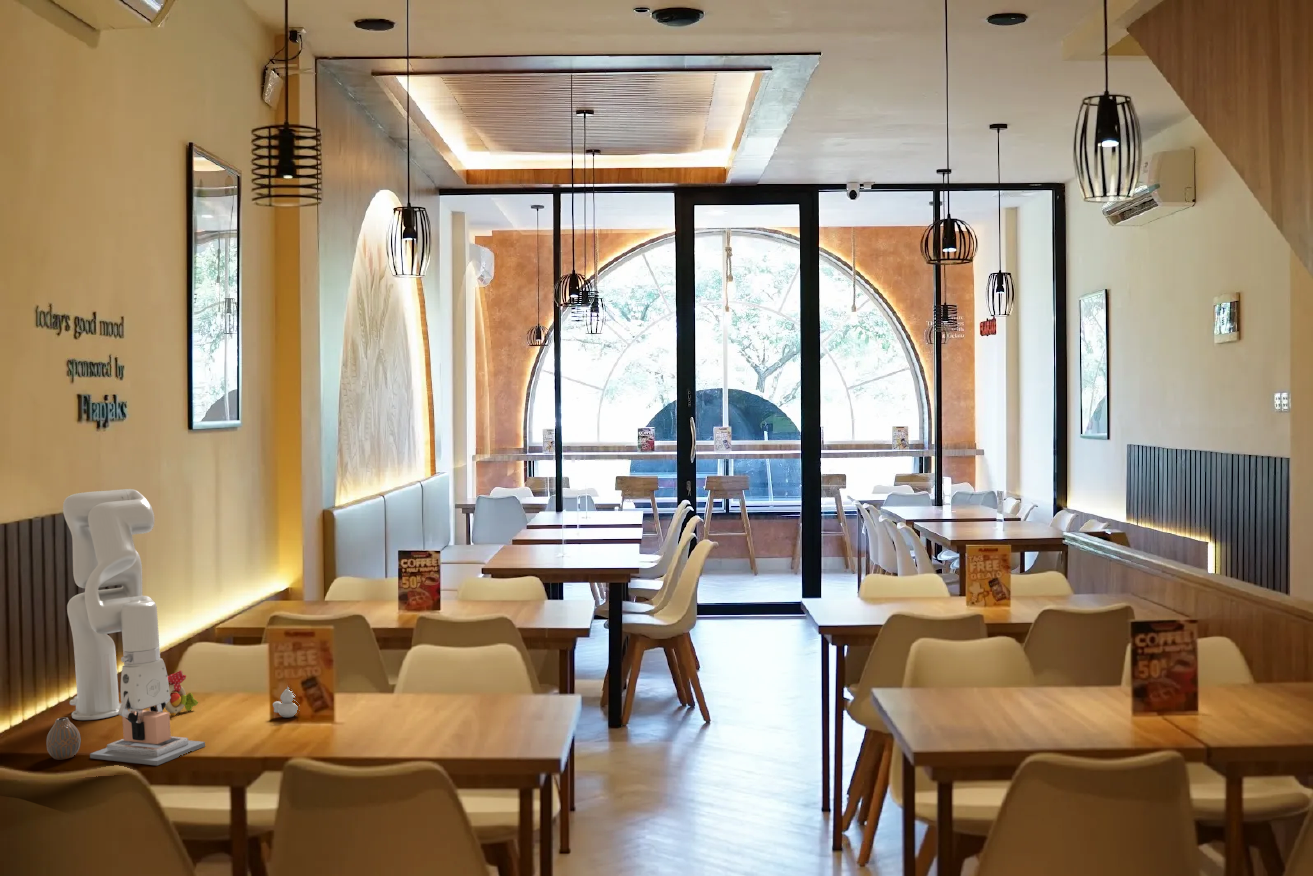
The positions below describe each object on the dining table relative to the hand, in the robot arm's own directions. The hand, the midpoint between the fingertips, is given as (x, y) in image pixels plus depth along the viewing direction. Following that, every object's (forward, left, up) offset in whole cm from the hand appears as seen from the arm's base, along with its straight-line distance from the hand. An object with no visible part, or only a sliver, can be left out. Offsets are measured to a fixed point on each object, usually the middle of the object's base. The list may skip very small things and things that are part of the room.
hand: (147, 735), depth 265 cm
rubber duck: (+12, +32, -4) cm, 34 cm away
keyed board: (0, 0, -4) cm, 4 cm away
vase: (-17, -8, -4) cm, 19 cm away
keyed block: (0, 0, -1) cm, 1 cm away
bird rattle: (-19, +28, -4) cm, 34 cm away
